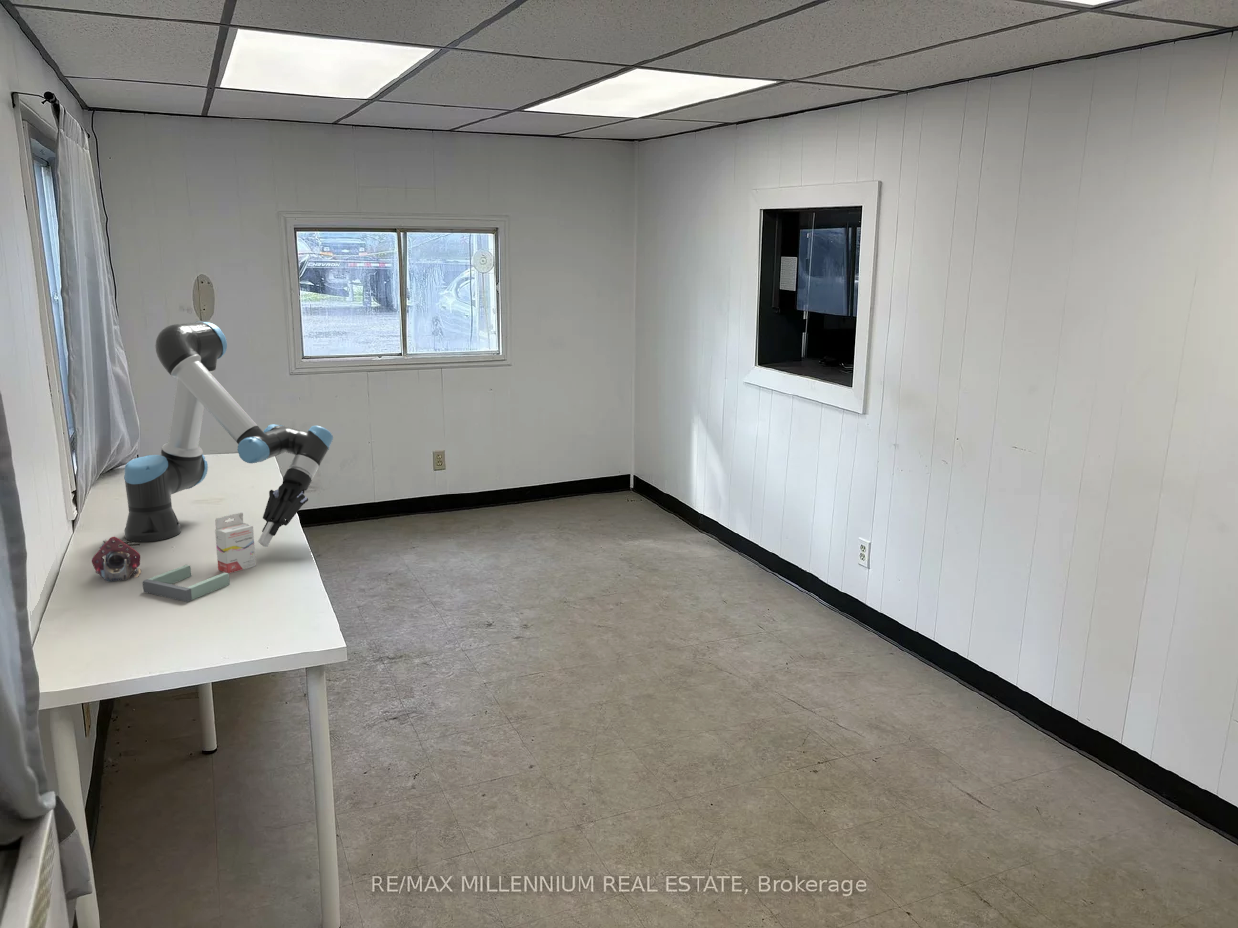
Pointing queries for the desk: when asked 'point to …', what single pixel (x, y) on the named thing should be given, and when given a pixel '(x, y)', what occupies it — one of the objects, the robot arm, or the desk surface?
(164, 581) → the cartridge dock
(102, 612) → the desk surface
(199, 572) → the desk surface
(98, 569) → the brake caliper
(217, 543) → the ink cartridge box
